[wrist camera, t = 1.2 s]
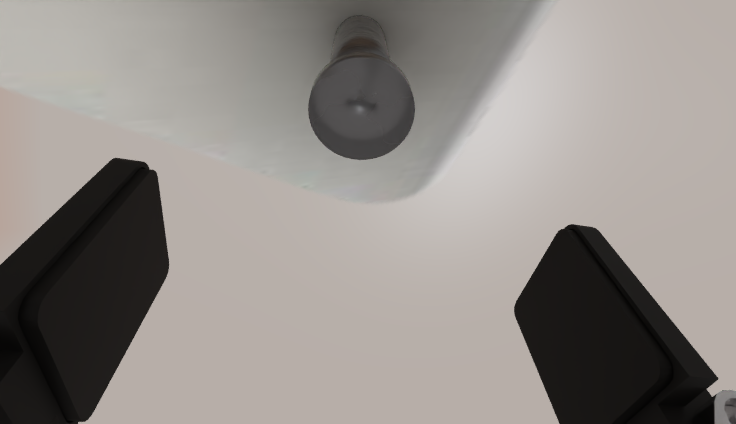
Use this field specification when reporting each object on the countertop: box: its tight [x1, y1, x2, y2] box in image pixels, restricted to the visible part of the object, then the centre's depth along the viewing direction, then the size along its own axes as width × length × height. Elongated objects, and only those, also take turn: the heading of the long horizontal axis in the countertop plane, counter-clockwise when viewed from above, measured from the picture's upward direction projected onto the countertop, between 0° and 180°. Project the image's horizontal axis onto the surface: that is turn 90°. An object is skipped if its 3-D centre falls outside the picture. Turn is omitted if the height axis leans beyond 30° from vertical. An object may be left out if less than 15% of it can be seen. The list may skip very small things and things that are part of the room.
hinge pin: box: [308, 16, 415, 160], centre depth 19 cm, size 4×4×10 cm
